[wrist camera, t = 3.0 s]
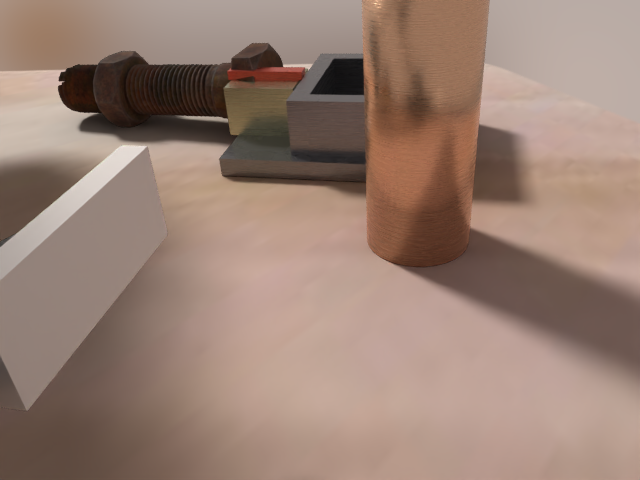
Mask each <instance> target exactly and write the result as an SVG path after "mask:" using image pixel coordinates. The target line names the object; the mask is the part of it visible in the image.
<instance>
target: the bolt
mask: <svg viewBox="0 0 640 480" xmlns="http://www.w3.org/2000/svg"><path fill="white" fill-rule="evenodd" d="M259 67H283V64H282V61H281V58H280V56H279V55H278V53H277V52H276V51H275V50H274V49H273V48H272V47H271V46H270V45H269V44H268V43H252V44H250V45H249V46H248V47H246V48H245V49H243V50H242V51H241V52H239V53H238V54H237V55H235V56H234V57H233V58H232V61H231V63H222V64H220V65H217V64H216V65H202V64H201V65H197V64H196V65H194V64H191V65H179V64H177V65H175V64H174V65H169V64H168V65H149V64H148V63H147V62H146V61H145V60H144V59H143V58H142V57H141V56H140V55H139V54H138V53H136V52H135V51H121V52H118V53H115V54H112V55H110V56H108V57H106V58H104V59H102V60H101V61H100V62H99V64H98V65H79V64H78V65H75V66H73V67H71V68H67V69H66V71H65V72H61V74H60V76H59V81H65V82H63V83H62V85H60V86H58V91H59V95H60V98H61V100H62V102H63V103H64V105H66V106H67V107H68V108H69V109H71V110H73V111H78V112H84V113H86V112H87V113H102V114H103V115H104V116H105V117H106V118H107V119H108V120H109V121H110V122H112V123H113V124H115V125H116V126H121V127H133V126H136V125H138V124H141V123H142V122H144V121H146V120H147V119H148V118H149V117H150V116H151V115H181V116H184V115H185V116H209V117H212V116H213V117H217V116H218V117H222V118H228V115H227V108H226V102H225V95H224V89H223V88H224V87H225V86H226V85H227V84H228V83H229V82H230V81H231V80H228V73H227V71H228V70H229V69H230V68H231V70H247V71H253V70H256V69H258V68H259ZM237 80H244V81H255V78H254V76H250V77H246V78H241V79H237Z"/></svg>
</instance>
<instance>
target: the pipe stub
mask: <svg viewBox="0 0 640 480" xmlns="http://www.w3.org/2000/svg"><path fill="white" fill-rule="evenodd" d="M489 1H490V0H362V20H363V21H362V22H363V68H364V113H365V158H366V204H367V241H368V244H369V246H370V248H371V249H372V250H373V252H374V253H376V254H377V255H378V256H380V257H381V258H383V259H385V260H387V261H390V262H393V263H396V264H400V265H405V266H415V267H425V266H435V265H440V264H443V263H447V262H449V261H452V260H454V259H456V258H457V257H459V256H460V255H461V254H462V253H463V252H464V251H465V250H466V248H467V246H468V242H469V231H470V220H471V208H472V197H473V185H474V174H475V162H476V151H477V139H478V128H479V116H480V105H481V94H482V82H483V71H484V59H485V47H486V36H487V24H488V12H489Z"/></svg>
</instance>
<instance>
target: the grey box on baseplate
mask: <svg viewBox="0 0 640 480" xmlns="http://www.w3.org/2000/svg"><path fill="white" fill-rule="evenodd" d="M227 73H228V80H231V81H230V82H229V83H228V84H227V85H226V86H225V87H224V88H223V89H224V95H225V102H226V108H227V115H228V122H229V128H230V135H238V136H237V138H236V139H235V140H234V141H233V143H232V144H231V145H230V146H229V147H228V149H227V150H226V151H225V152H224V153H223V155H222V156H221V157H220V158H219V160H220V166H221V172H222V175H226V176H248V177H270V178H291V179H313V180H335V181H357V182H366V158H365V113H364V68H363V54H321V55H320V56H319V57H318V59H317V60H316V61H315V63H314V64H313V65H312V67H311V68H310V69H309V71H308V69H305V67H259V68H258V69H256V70H253V71H247V70H231V68H230V69H229V70H228V71H227ZM250 76H254V78H255V81H244V80H237V79H241V78H246V77H250Z"/></svg>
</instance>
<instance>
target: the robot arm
mask: <svg viewBox="0 0 640 480" xmlns="http://www.w3.org/2000/svg"><path fill="white" fill-rule="evenodd" d="M167 235H168V231H167V227H166V223H165V219H164V214H163V210H162V206H161V202H160V197H159V193H158V189H157V184H156V180H155V176H154V172H153V167H152V163H151V159H150V155H149V150H148V146H128V145H121V146H120V147H119V148H118V149H116V150H115V151H114V152H113V153H112V154H110V155H109V156H108V157H107V158H106V159H104V160H103V161H102V162H101V163H100V164H99V165H97V166H96V167H95V168H94V169H93V170H91V171H90V172H89V173H88V174H87V175H85V176H84V177H83V178H82V179H81V180H80V181H78V182H77V183H76V184H75V185H74V186H72V187H71V188H70V189H69V190H68V191H66V192H65V193H64V194H63V195H62V196H61V197H59V198H58V199H57V200H56V201H55V202H53V203H52V204H51V205H50V206H49V207H47V208H46V209H45V210H44V211H43V212H41V213H40V214H39V215H38V216H37V217H36V218H34V219H33V220H32V221H31V222H30V223H28V224H27V225H26V226H25V227H24V228H22V229H21V230H20V231H19V232H18V233H16V234H14V235H12V236H10V237H8V238H6V239H4V240H2V241H0V408H7V409H14V410H21V411H28V410H29V408H30V407H31V406H32V405H33V403H34V402H35V401H36V400H37V398H38V397H39V396H40V395H41V393H42V392H43V391H44V390H45V388H46V387H47V386H48V385H49V383H50V382H51V381H52V380H53V378H54V377H55V376H56V375H57V373H58V372H59V371H60V369H61V368H62V367H63V366H64V364H65V363H66V362H67V361H68V359H69V358H70V357H71V356H72V354H73V353H74V352H75V351H76V349H77V348H78V347H79V346H80V344H81V343H82V342H83V341H84V339H85V338H86V337H87V336H88V334H89V333H90V332H91V331H92V329H93V328H94V327H95V326H96V324H97V323H98V322H99V321H100V319H101V318H102V317H103V316H104V314H105V313H106V312H107V310H108V309H109V308H110V307H111V305H112V304H113V303H114V302H115V300H116V299H117V298H118V297H119V295H120V294H121V293H122V292H123V290H124V289H125V288H126V287H127V285H128V284H129V283H130V282H131V280H132V279H133V278H134V277H135V275H136V274H137V273H138V272H139V270H140V269H141V268H142V267H143V265H144V264H145V263H146V262H147V260H148V259H149V258H150V257H151V255H152V254H153V253H154V251H155V250H156V249H157V248H158V246H159V245H160V244H161V243H162V241H163V240H164V239H165V238H166V236H167Z"/></svg>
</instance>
